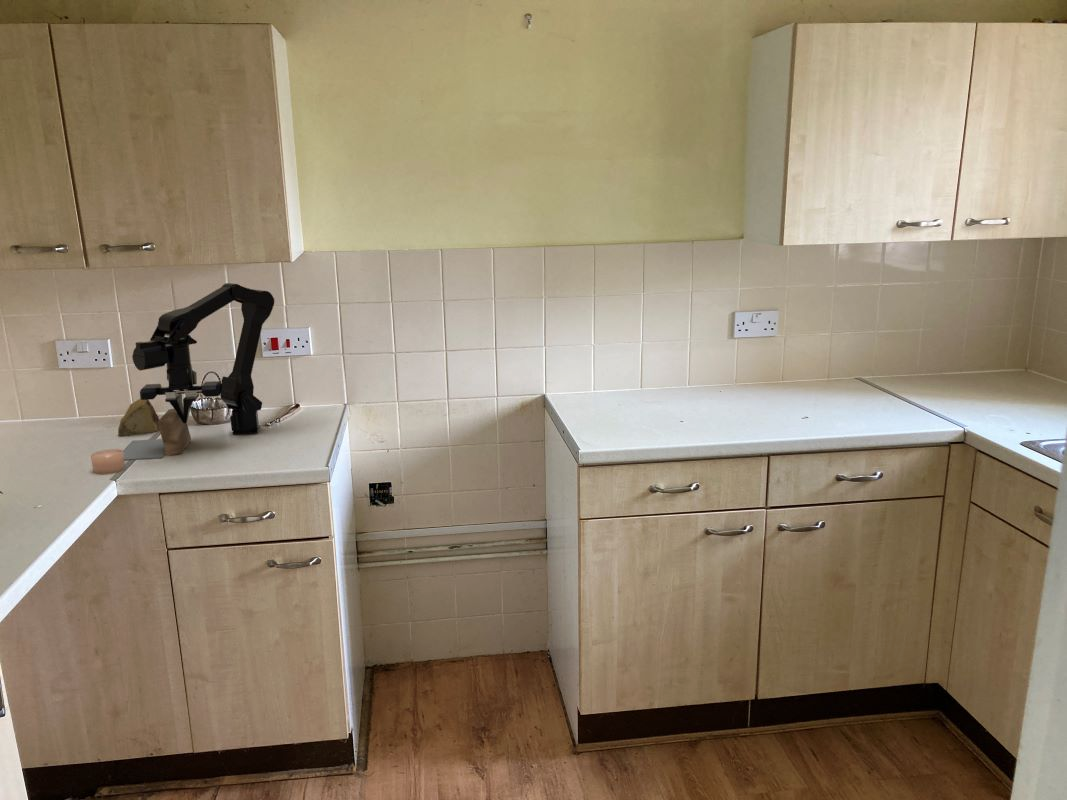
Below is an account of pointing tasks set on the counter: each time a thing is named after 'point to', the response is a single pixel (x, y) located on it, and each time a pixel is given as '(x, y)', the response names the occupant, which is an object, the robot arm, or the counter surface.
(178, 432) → the slab
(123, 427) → the rock
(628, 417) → the counter surface
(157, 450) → the mat
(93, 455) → the peach rounded cylinder
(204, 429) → the counter surface
